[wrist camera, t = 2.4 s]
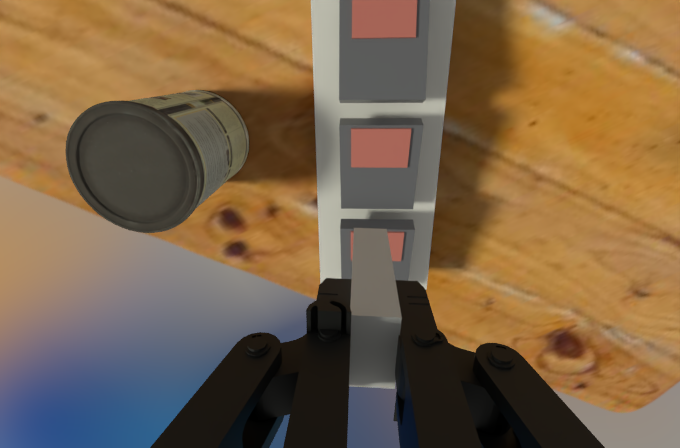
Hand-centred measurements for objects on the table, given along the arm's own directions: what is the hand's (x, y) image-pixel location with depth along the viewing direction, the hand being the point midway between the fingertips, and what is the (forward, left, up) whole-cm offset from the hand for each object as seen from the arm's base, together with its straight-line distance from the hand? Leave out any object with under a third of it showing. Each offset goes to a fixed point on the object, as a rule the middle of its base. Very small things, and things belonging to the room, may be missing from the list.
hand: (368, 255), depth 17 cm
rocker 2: (0, +1, -19) cm, 19 cm away
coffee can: (-1, -18, -25) cm, 31 cm away
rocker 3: (+10, +1, -19) cm, 21 cm away
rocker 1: (-9, +1, -19) cm, 21 cm away
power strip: (-2, +1, -25) cm, 25 cm away
